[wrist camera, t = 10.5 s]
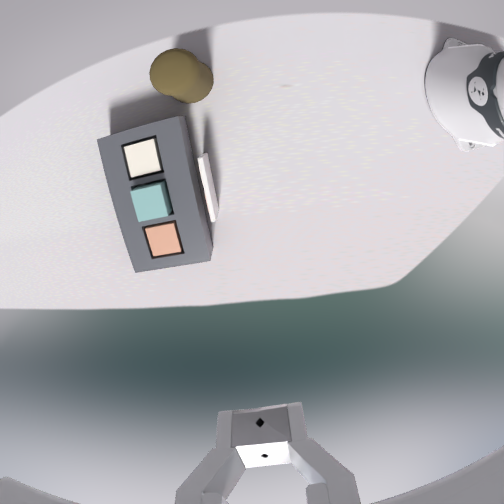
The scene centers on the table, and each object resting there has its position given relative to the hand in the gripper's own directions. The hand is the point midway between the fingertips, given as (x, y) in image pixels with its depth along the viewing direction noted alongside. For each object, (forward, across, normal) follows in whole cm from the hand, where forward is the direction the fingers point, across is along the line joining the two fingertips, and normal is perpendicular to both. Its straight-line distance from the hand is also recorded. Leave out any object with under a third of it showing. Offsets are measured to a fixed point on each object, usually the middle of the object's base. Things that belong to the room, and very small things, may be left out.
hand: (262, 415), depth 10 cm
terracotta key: (+33, +12, +4) cm, 35 cm away
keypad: (+34, +11, -2) cm, 36 cm away
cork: (+34, +5, -16) cm, 38 cm away
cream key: (+33, +12, -7) cm, 36 cm away
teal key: (+31, +12, -2) cm, 34 cm away
